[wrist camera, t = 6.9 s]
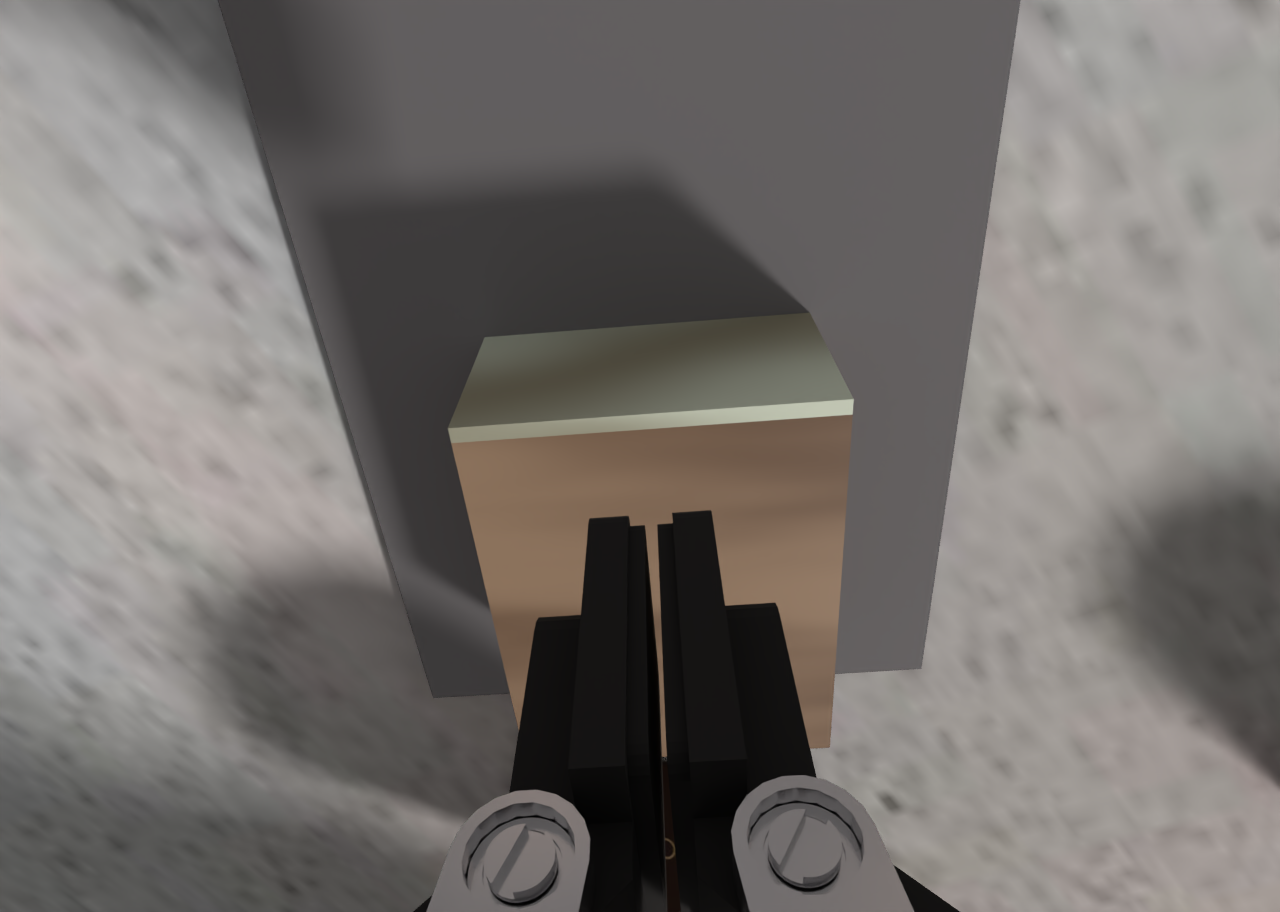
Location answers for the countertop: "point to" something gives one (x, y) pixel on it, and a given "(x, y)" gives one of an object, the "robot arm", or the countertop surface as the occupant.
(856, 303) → the rubber mat
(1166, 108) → the countertop surface
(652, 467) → the walnut block
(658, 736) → the robot arm
